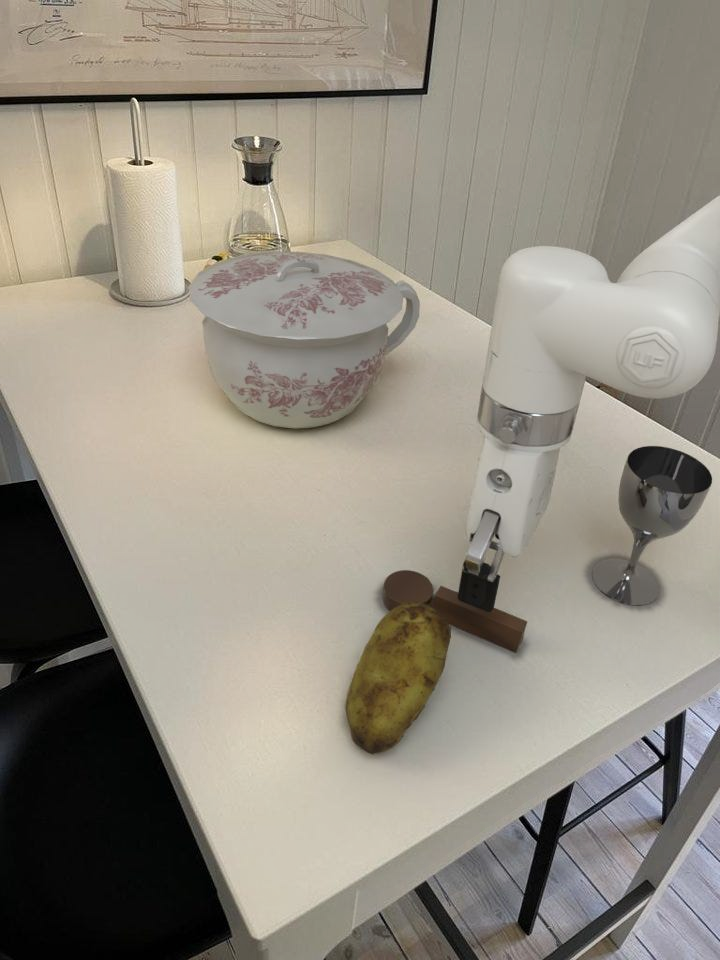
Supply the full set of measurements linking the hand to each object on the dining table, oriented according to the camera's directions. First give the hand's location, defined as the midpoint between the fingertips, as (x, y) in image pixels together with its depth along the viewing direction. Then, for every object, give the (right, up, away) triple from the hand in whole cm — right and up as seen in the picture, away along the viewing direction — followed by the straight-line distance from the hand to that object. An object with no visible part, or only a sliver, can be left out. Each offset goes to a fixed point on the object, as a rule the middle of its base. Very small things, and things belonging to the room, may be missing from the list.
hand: (493, 571), depth 69 cm
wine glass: (+16, -3, +12) cm, 21 cm away
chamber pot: (-21, +19, +37) cm, 47 cm away
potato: (-10, -11, -2) cm, 15 cm away
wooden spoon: (-4, -5, +6) cm, 9 cm away
